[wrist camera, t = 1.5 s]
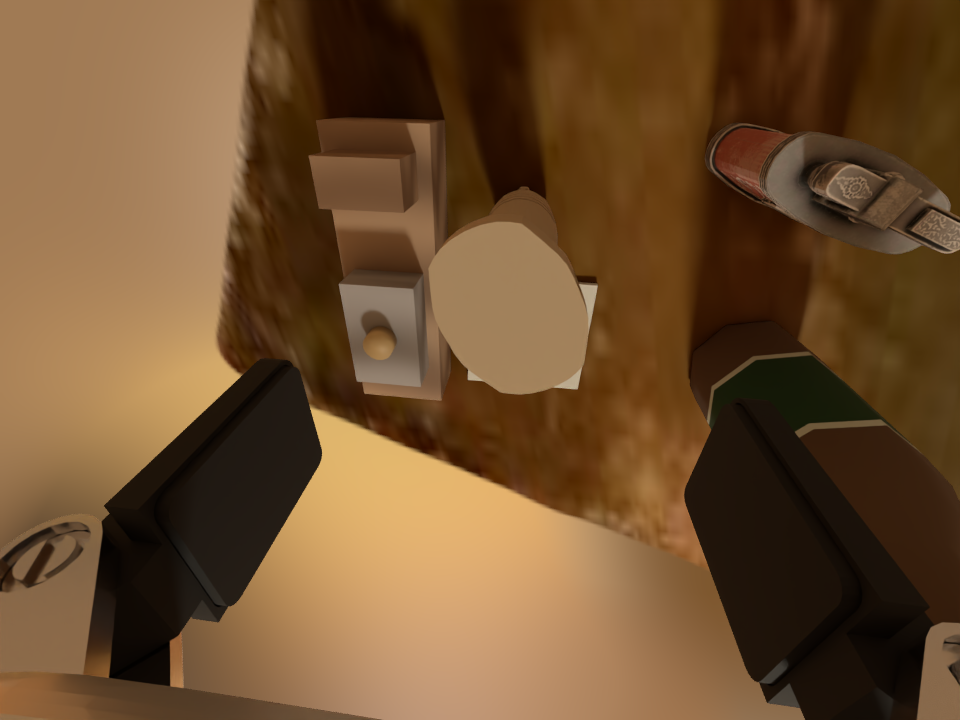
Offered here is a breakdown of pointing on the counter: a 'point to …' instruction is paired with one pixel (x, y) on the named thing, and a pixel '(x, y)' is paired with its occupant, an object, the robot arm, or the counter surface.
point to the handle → (511, 298)
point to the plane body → (388, 246)
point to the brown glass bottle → (844, 450)
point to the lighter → (836, 187)
